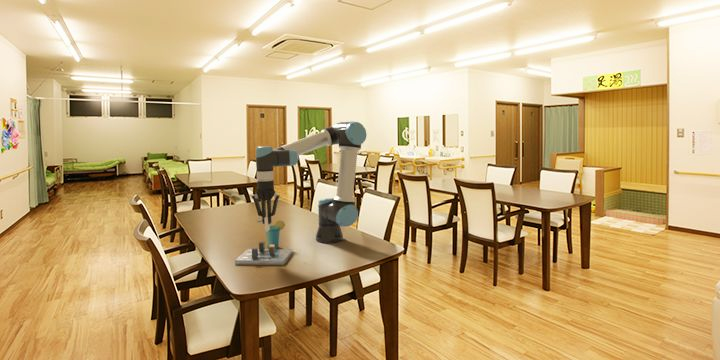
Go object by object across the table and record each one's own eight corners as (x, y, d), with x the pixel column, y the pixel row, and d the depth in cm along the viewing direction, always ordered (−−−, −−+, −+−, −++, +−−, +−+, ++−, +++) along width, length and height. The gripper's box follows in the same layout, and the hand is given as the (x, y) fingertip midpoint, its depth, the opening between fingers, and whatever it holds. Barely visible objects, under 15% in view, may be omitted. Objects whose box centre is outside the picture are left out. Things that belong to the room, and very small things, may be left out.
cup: (258, 250, 199) (257, 221, 197) (256, 247, 206) (255, 218, 205) (286, 248, 204) (285, 219, 203) (283, 244, 211) (283, 216, 210)
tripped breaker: (274, 253, 187) (274, 244, 187) (273, 254, 185) (273, 246, 184) (270, 253, 187) (270, 244, 187) (269, 254, 185) (269, 246, 184)
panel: (292, 253, 195) (292, 240, 194) (283, 265, 177) (283, 251, 176) (248, 252, 196) (247, 240, 195) (235, 264, 178) (234, 250, 177)
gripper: (281, 179, 186) (283, 228, 188) (253, 179, 186) (255, 228, 189) (277, 181, 178) (279, 232, 181) (248, 181, 179) (250, 232, 181)
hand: (267, 230), depth 185 cm, fingers closed
